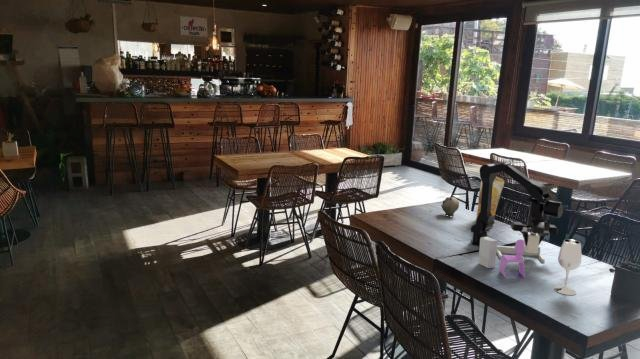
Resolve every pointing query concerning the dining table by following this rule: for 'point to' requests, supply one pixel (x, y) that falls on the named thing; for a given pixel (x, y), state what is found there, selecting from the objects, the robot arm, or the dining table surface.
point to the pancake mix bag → (493, 195)
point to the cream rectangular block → (532, 243)
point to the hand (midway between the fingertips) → (531, 246)
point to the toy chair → (514, 258)
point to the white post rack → (512, 251)
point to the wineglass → (569, 262)
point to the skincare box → (487, 252)
